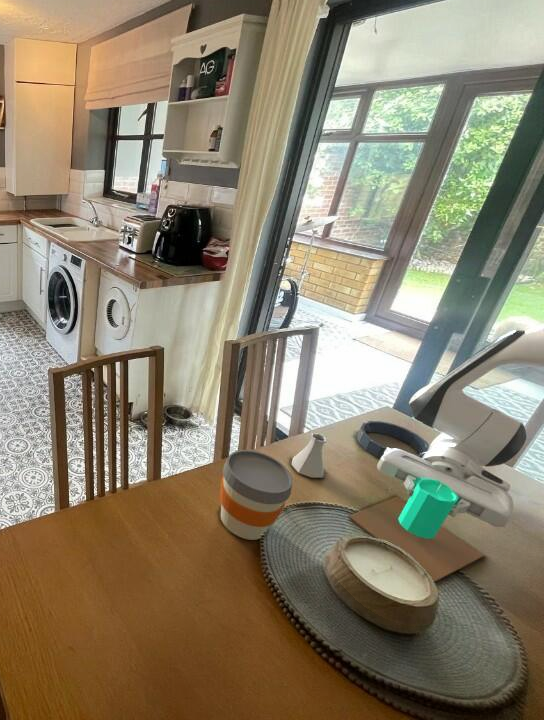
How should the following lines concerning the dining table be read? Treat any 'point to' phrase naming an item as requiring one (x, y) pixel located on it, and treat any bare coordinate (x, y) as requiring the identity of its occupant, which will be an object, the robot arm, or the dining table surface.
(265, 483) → the reusable coffee cup
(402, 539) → the mat
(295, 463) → the flask
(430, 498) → the candle
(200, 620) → the dining table surface
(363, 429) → the ring
